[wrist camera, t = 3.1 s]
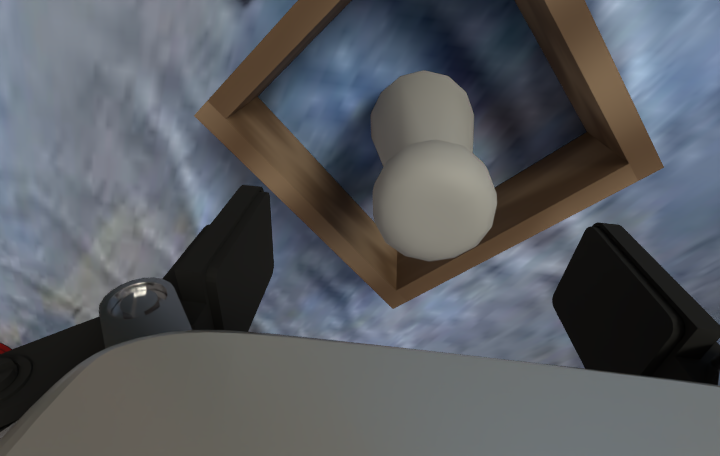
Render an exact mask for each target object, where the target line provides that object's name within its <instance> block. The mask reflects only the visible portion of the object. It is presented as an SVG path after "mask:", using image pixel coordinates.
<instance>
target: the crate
mask: <svg viewBox="0 0 720 456" xmlns="http://www.w3.org/2000/svg"><path fill="white" fill-rule="evenodd" d="M351 1H352V0H298V1H297V2H296V3H295V4H294V5H293V6H292V8H291V9H290V10H289V11H288V12H287V13H286V14H285V15H284V16H283V18H282V19H281V20H280V21H279V22H278V23H277V24H276V25H275V26H274V28H273V29H272V30H271V31H270V32H269V33H268V34H267V35H266V36H265V38H264V39H263V40H262V41H261V42H260V43H259V44H258V45H257V46H256V48H255V49H254V50H253V51H252V52H251V53H250V54H249V55H248V56H247V58H246V59H245V60H244V61H243V62H242V63H241V64H240V65H239V66H238V67H237V69H236V70H235V71H234V72H233V73H232V74H231V75H230V76H229V77H228V79H227V80H226V81H225V82H224V83H223V84H222V85H221V86H220V87H219V89H218V90H217V91H216V92H215V93H214V94H213V95H212V96H211V97H210V99H209V100H208V101H207V102H206V103H205V104H204V105H203V106H202V107H201V109H200V110H199V111H198V112H197V113H196V114H195V115H194V116H195V117H196V118H197V119H198V120H199V121H200V122H201V123H202V124H203V125H204V126H205V127H206V128H207V129H208V130H209V131H210V132H211V133H212V134H213V135H215V136H216V137H217V138H218V139H219V140H220V141H221V142H222V143H223V144H224V145H225V146H226V147H227V148H228V149H229V150H230V151H231V152H232V153H233V154H234V155H235V156H236V157H237V158H238V159H239V160H240V161H241V162H242V163H243V164H244V165H245V166H246V167H247V168H248V169H250V170H251V171H252V172H253V173H254V174H255V175H256V176H257V177H258V178H259V179H260V180H261V181H262V182H263V183H264V184H265V185H266V186H267V187H268V188H269V189H270V190H271V191H272V192H273V193H274V194H275V195H276V196H277V197H278V198H279V199H280V200H281V201H282V202H283V203H284V204H286V205H287V206H288V207H289V208H290V209H291V210H292V211H293V212H294V213H295V214H296V215H297V216H298V217H299V218H300V219H301V220H302V221H303V222H304V223H305V224H306V225H307V226H308V227H309V228H310V229H311V230H312V231H313V232H314V233H315V234H316V235H317V236H318V237H319V238H321V239H322V240H323V241H324V242H325V243H326V244H327V245H328V246H329V247H330V248H331V249H332V250H333V251H334V252H335V253H336V254H337V255H338V256H339V257H340V258H341V259H342V260H343V261H344V262H345V263H346V264H347V265H348V266H349V267H350V268H351V269H352V270H353V271H354V272H356V273H357V274H358V275H359V276H360V277H361V278H362V279H363V280H364V281H365V282H366V283H367V284H368V285H369V286H370V287H371V288H372V289H373V290H374V291H375V292H376V293H377V294H378V295H379V296H380V297H381V298H382V299H383V300H384V301H385V302H386V303H387V304H388V305H389V306H390V307H392V308H393V309H394V308H396V307H398V306H400V305H401V304H403V303H405V302H407V301H409V300H411V299H413V298H415V297H417V296H419V295H421V294H423V293H424V292H426V291H428V290H430V289H432V288H434V287H436V286H438V285H440V284H442V283H444V282H445V281H447V280H449V279H451V278H453V277H455V276H457V275H459V274H461V273H463V272H465V271H467V270H468V269H470V268H472V267H474V266H476V265H478V264H480V263H482V262H484V261H486V260H488V259H490V258H491V257H493V256H495V255H497V254H499V253H501V252H503V251H505V250H507V249H509V248H511V247H513V246H514V245H516V244H518V243H520V242H522V241H524V240H526V239H528V238H530V237H532V236H534V235H536V234H537V233H539V232H541V231H543V230H545V229H547V228H549V227H551V226H553V225H555V224H557V223H559V222H560V221H562V220H564V219H566V218H568V217H570V216H572V215H574V214H576V213H578V212H580V211H582V210H583V209H585V208H587V207H589V206H591V205H593V204H595V203H597V202H599V201H601V200H603V199H605V198H606V197H608V196H610V195H612V194H614V193H616V192H618V191H620V190H622V189H624V188H626V187H628V186H629V185H631V184H633V183H635V182H637V181H639V180H641V179H643V178H645V177H647V176H649V175H650V174H652V173H654V172H656V171H658V170H660V169H662V168H664V167H663V164H662V162H661V160H660V158H659V156H658V154H657V152H656V150H655V148H654V146H653V143H652V141H651V139H650V137H649V135H648V133H647V131H646V129H645V127H644V124H643V122H642V120H641V118H640V116H639V114H638V112H637V110H636V108H635V106H634V103H633V101H632V99H631V97H630V95H629V93H628V91H627V89H626V87H625V85H624V82H623V80H622V78H621V76H620V74H619V72H618V70H617V68H616V66H615V64H614V61H613V59H612V57H611V55H610V53H609V51H608V49H607V47H606V45H605V42H604V40H603V38H602V36H601V34H600V32H599V30H598V28H597V26H596V24H595V21H594V19H593V17H592V15H591V13H590V11H589V9H588V7H587V5H586V3H585V0H515V2H516V4H517V6H518V8H519V9H520V11H521V13H522V15H523V17H524V19H525V20H526V22H527V24H528V26H529V28H530V29H531V31H532V33H533V35H534V37H535V39H536V40H537V42H538V44H539V46H540V48H541V49H542V51H543V53H544V55H545V57H546V58H547V60H548V62H549V64H550V66H551V68H552V69H553V71H554V73H555V75H556V77H557V78H558V80H559V82H560V84H561V86H562V87H563V89H564V91H565V93H566V95H567V97H568V98H569V100H570V102H571V104H572V106H573V107H574V109H575V111H576V113H577V115H578V116H579V118H580V120H581V122H582V124H583V126H584V127H585V129H586V131H587V132H586V133H584V134H583V135H581V136H580V137H578V138H576V139H575V140H573V141H571V142H570V143H568V144H566V145H565V146H563V147H561V148H560V149H558V150H556V151H555V152H553V153H551V154H550V155H548V156H547V157H545V158H543V159H542V160H540V161H538V162H537V163H535V164H533V165H532V166H530V167H528V168H527V169H525V170H523V171H522V172H520V173H518V174H517V175H515V176H514V177H512V178H510V179H509V180H507V181H505V182H504V183H502V184H500V185H499V186H497V187H495V191H496V194H497V206H496V210H495V215H494V220H493V225H492V227H491V229H490V230H489V231H488V232H487V234H486V235H485V236H484V238H483V239H482V240H481V241H480V243H479V244H478V245H477V246H476V247H474V248H472V249H470V250H468V251H466V252H465V253H463V254H461V255H459V256H457V257H455V258H450V259H443V260H437V261H430V262H429V261H424V260H420V259H416V258H412V257H407V256H404V255H403V254H401V253H400V252H399V251H397V250H396V249H394V248H393V247H391V246H390V245H388V244H387V243H386V242H385V240H384V239H383V237H382V235H381V233H380V231H379V229H378V228H377V226H376V224H375V223H374V221H373V220H372V219H371V218H370V217H369V216H368V215H367V214H366V213H365V212H364V211H363V210H362V209H361V207H360V206H359V205H358V204H357V203H356V202H355V201H354V200H353V199H352V198H351V197H350V196H349V195H348V193H347V192H346V191H345V190H344V189H343V188H342V187H341V186H340V185H339V184H338V183H337V182H336V181H335V179H334V178H333V177H332V176H331V175H330V174H329V173H328V172H327V171H326V170H325V169H324V168H323V167H322V165H321V164H320V163H319V162H318V161H317V160H316V159H315V158H314V157H313V156H312V155H311V154H310V153H309V151H308V150H307V149H306V148H305V147H304V146H303V145H302V144H301V143H300V142H299V141H298V140H297V139H296V137H295V136H294V135H293V134H292V133H291V132H290V131H289V130H288V129H287V128H286V127H285V126H284V125H283V123H282V122H281V121H280V120H279V119H278V118H277V117H276V116H275V115H274V114H273V113H272V112H271V110H270V109H269V108H268V107H267V106H266V105H265V104H264V103H263V102H262V101H261V100H260V99H259V98H258V96H259V95H260V94H261V92H262V91H263V90H264V89H265V88H266V87H267V86H268V85H269V84H270V83H271V82H272V81H273V80H274V79H275V78H276V77H277V76H278V75H279V74H280V73H281V72H282V71H283V70H284V69H285V68H286V67H287V66H288V65H289V64H290V63H291V62H292V61H293V60H294V59H295V58H296V57H297V56H298V55H299V54H300V53H301V52H302V51H303V50H304V49H305V48H306V47H307V46H308V45H309V44H310V43H311V42H312V41H313V39H314V38H315V37H316V36H317V35H318V34H319V33H320V32H321V31H322V30H323V29H324V28H325V27H326V26H327V25H328V24H329V23H330V22H331V21H332V20H333V19H334V18H335V17H336V16H337V15H338V14H339V13H340V12H341V11H342V10H343V9H344V8H345V7H346V6H347V5H348V4H349V3H350V2H351Z"/></svg>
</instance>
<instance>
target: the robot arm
mask: <svg viewBox="0 0 720 456" xmlns="http://www.w3.org/2000/svg"><path fill="white" fill-rule="evenodd" d="M273 268H274V259H273V243H272V226H271V210H270V196H269V193H268V192H264V191H263V188H262V187H258V186H248V185H242V186H240V188H239V189H238V190H237V191H236V193H235V194H234V195H233V197H232V198H231V199H230V200H229V202H228V203H227V204H226V205H225V207H224V208H223V209H222V210H221V212H220V213H219V214H218V215H217V217H216V218H215V219H214V220H213V222H212V223H211V224H210V225H206V226H205V227H204V228H203V229H202V231H201V232H200V233H199V234H198V236H197V237H196V238H195V239H194V241H193V242H192V243H191V244H190V245H189V247H188V248H187V249H186V250H185V252H184V253H183V254H182V255H181V257H180V258H179V259H178V260H177V262H176V263H175V264H174V265H173V266H172V268H171V269H170V270H169V271H168V273H167V274H166V275H165V276H164V278H163V279H160V278H141V279H136V280H132V281H129V282H127V283H124V284H122V285H120V286H118V287H117V288H115V289H113V290H112V291H110V292H109V293H108V294H107V295H106V296H105V297H104V298H103V300H102V302H101V303H100V305H99V317H97V318H94V319H92V320H89V321H86V322H84V323H81V324H78V325H76V326H73V327H71V328H68V329H65V330H63V331H60V332H57V333H55V334H52V335H49V336H47V337H44V338H42V339H39V340H36V341H34V342H31V343H28V344H26V345H23V346H20V347H18V348H15V349H13V350H10V351H7V352H5V353H2V354H0V456H720V345H719V344H718V343H717V342H716V341H717V340H718V339H719V338H720V325H719V324H718V323H717V322H716V321H715V320H714V319H713V318H712V317H711V316H710V315H709V314H708V313H707V312H706V311H705V310H704V309H703V308H702V307H701V306H700V305H699V304H698V303H697V302H696V301H695V300H694V299H693V298H692V297H691V296H690V295H689V294H688V293H687V292H686V291H685V290H684V289H683V288H682V287H681V286H680V285H679V284H678V283H677V282H676V281H675V280H674V279H673V278H672V277H671V276H670V275H669V274H668V273H667V272H666V271H665V270H664V269H663V268H662V267H661V266H660V265H659V264H658V263H657V261H656V260H655V259H654V258H653V257H652V256H651V255H650V254H649V253H648V252H647V251H646V250H645V249H644V248H643V247H642V246H641V245H640V244H639V243H638V242H637V241H636V240H635V239H634V238H633V237H632V236H631V235H630V234H629V233H628V232H627V231H626V230H625V229H624V228H623V227H622V226H620V225H616V224H607V223H595V224H594V225H593V226H592V227H588V228H587V229H586V230H585V232H584V234H583V236H582V238H581V240H580V242H579V244H578V246H577V248H576V250H575V252H574V254H573V256H572V258H571V260H570V262H569V264H568V266H567V268H566V270H565V272H564V274H563V276H562V278H561V280H560V282H559V284H558V286H557V288H556V290H555V292H554V295H553V299H552V303H553V307H554V309H555V311H556V313H557V315H558V317H559V319H560V320H561V322H562V324H563V326H564V328H565V330H566V332H567V334H568V336H569V338H570V340H571V342H572V344H573V346H574V348H575V350H576V351H577V353H578V355H579V357H580V359H581V361H582V363H583V365H584V367H585V369H583V368H574V367H566V366H557V365H548V364H540V363H531V362H522V361H514V360H505V359H496V358H487V357H479V356H470V355H461V354H452V353H443V352H435V351H426V350H417V349H408V348H399V347H390V346H381V345H372V344H362V343H353V342H344V341H335V340H326V339H317V338H307V337H298V336H289V335H280V334H269V333H256V332H248V330H249V328H250V325H251V323H252V321H253V318H254V316H255V314H256V311H257V309H258V307H259V305H260V302H261V300H262V298H263V295H264V293H265V291H266V288H267V286H268V284H269V281H270V279H271V277H272V274H273Z"/></svg>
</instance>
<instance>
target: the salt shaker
mask: <svg viewBox="0 0 720 456" xmlns="http://www.w3.org/2000/svg"><path fill="white" fill-rule="evenodd" d="M473 130H474V113H473V110H472V107H471V105H470V102H469V99H468V96H467V93H466V92H465V91H464V90H463V89H462V88H461V87H460V86H459V85H458V84H456V83H455V82H454V81H453V80H452V79H451V78H450V77H449V76H446V75H442V74H438V73H433V72H429V71H425V70H423V71H419V72H415V73H411V74H407V75H403V76H400V77H399V78H398V79H397V80H395V81H394V82H393V83H392V84H391V85H389V86H388V87H387V88H386V89H385V90H384V91H382V92H381V94H380V96H379V98H378V100H377V102H376V104H375V106H374V108H373V110H372V112H371V137H372V140H373V142H374V145H375V147H376V150H377V152H378V154H379V157H380V159H381V162H382V164H383V169H382V171H381V173H380V175H379V176H378V178H377V180H376V182H375V184H374V188H373V216H374V221H375V224H376V226H377V228H378V229H379V231H380V233H381V235H382V237H383V239H384V240H385V242H386V243H387V244H388V245H390V246H391V247H393V248H394V249H396V250H397V251H399V252H400V253H401V254H403V255H404V256H407V257H412V258H416V259H420V260H424V261H429V262H430V261H437V260H443V259H450V258H455V257H457V256H459V255H461V254H463V253H465V252H466V251H468V250H470V249H472V248H474V247H476V246H477V245H478V244H479V243H480V241H481V240H482V239H483V238H484V236H485V235H486V234H487V232H488V231H489V230H490V229H491V227H492V225H493V220H494V215H495V210H496V206H497V194H496V191H495V188H494V185H493V183H492V180H491V177H490V175H489V172H488V169H487V168H486V166H485V165H484V163H483V162H482V161H481V160H480V159H478V158H477V157H476V156H475V155H474V154H473Z"/></svg>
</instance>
